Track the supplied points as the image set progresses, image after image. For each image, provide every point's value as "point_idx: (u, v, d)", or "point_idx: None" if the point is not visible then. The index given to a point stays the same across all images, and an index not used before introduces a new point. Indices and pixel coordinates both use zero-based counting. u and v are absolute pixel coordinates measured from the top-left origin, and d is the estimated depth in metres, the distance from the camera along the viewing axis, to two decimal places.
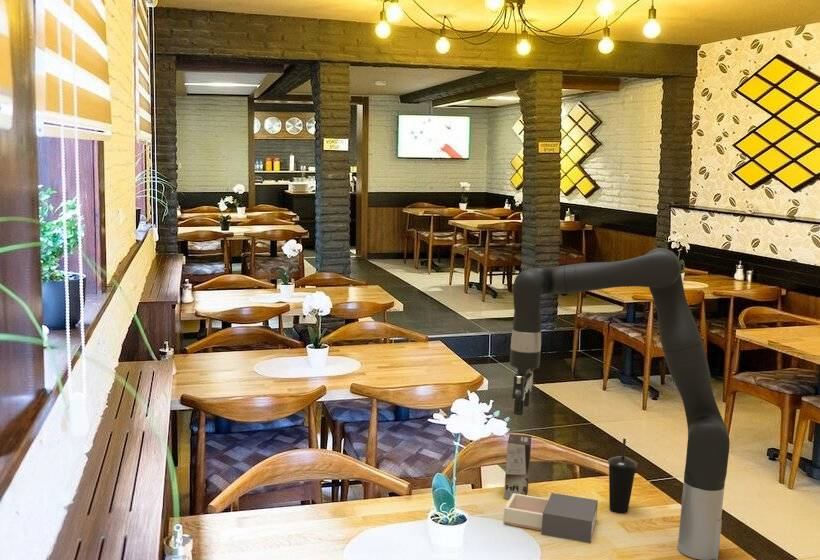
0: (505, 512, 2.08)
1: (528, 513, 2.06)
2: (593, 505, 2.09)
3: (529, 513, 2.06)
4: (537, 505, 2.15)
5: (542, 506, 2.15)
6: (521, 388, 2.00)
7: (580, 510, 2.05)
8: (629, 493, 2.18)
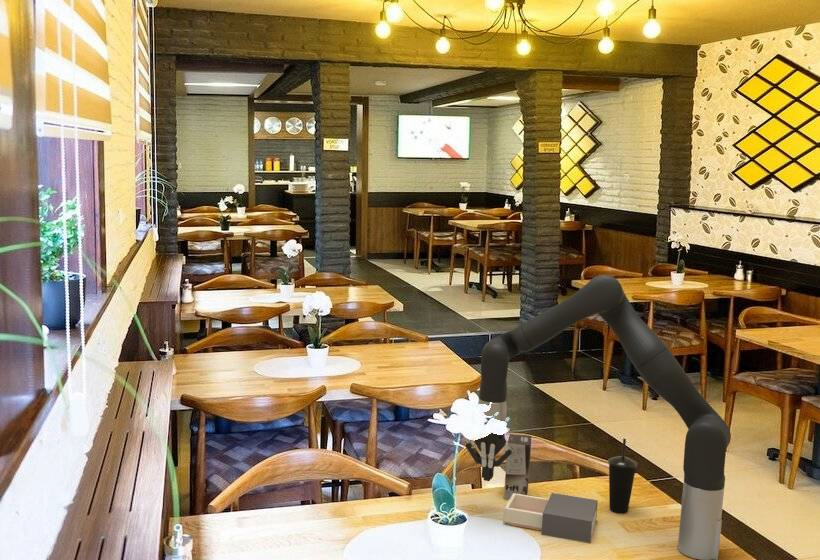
0: (505, 512, 2.08)
1: (528, 513, 2.06)
2: (593, 505, 2.09)
3: (529, 513, 2.06)
4: (537, 505, 2.15)
5: (542, 506, 2.15)
6: None
7: (580, 510, 2.05)
8: (629, 493, 2.18)
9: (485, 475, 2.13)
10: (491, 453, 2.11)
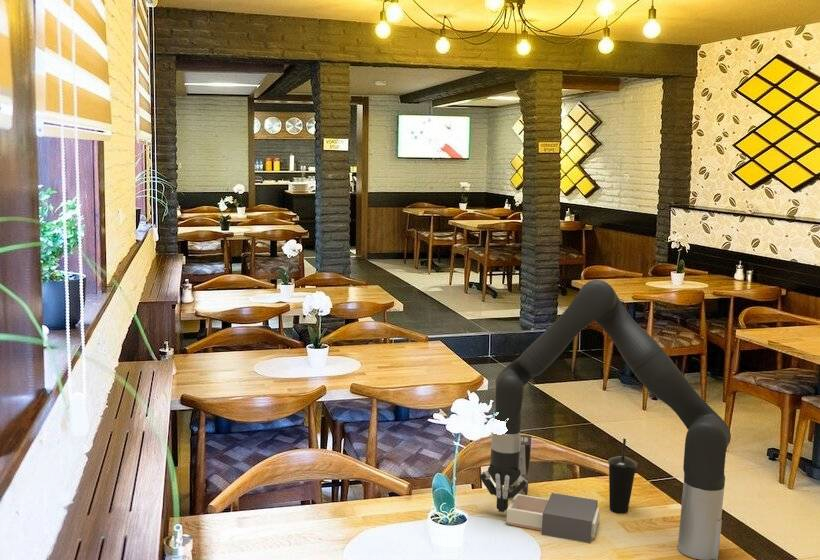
0: (508, 512, 2.07)
1: (531, 513, 2.06)
2: (593, 505, 2.09)
3: (532, 513, 2.05)
4: (540, 505, 2.15)
5: (545, 506, 2.15)
6: None
7: (580, 510, 2.05)
8: (629, 493, 2.18)
9: (500, 506, 2.13)
10: (506, 484, 2.11)
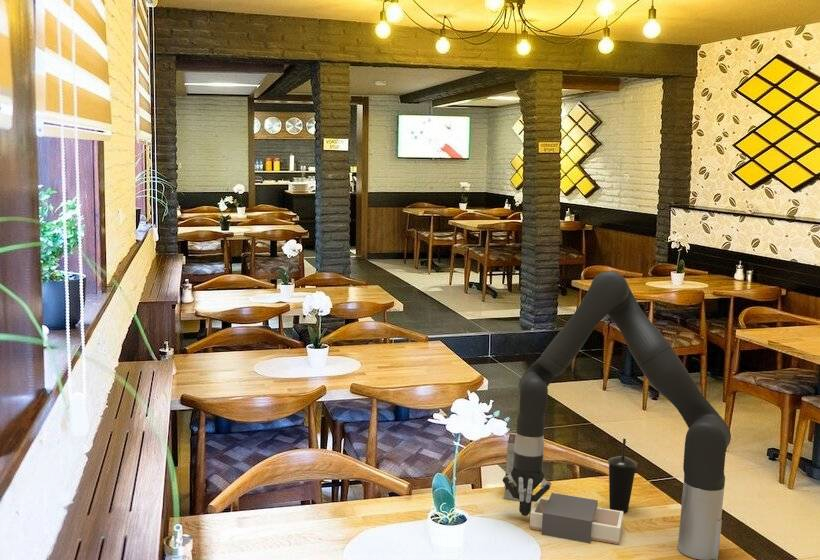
0: (531, 517, 2.06)
1: None
2: (593, 505, 2.09)
3: None
4: None
5: None
6: None
7: (580, 510, 2.05)
8: (629, 493, 2.18)
9: (523, 510, 2.11)
10: (529, 488, 2.09)
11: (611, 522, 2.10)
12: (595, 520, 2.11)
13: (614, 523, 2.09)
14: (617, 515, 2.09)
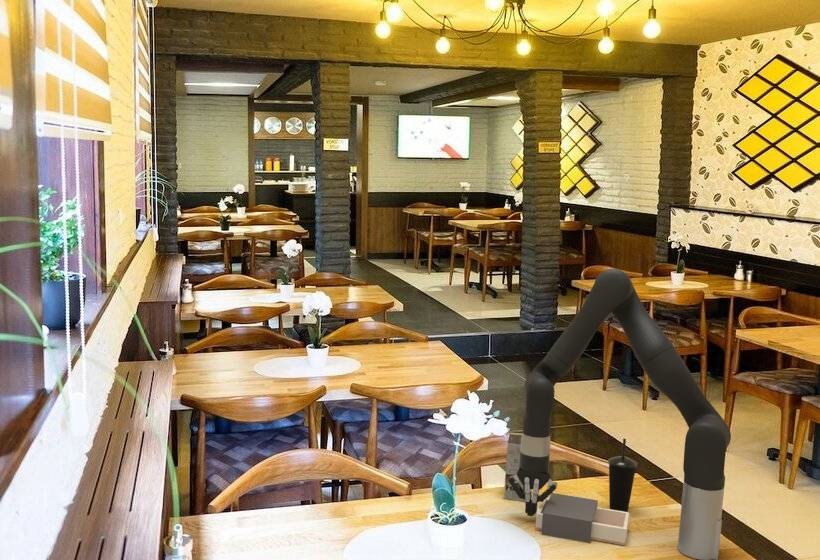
0: (537, 518, 2.05)
1: None
2: (593, 505, 2.09)
3: None
4: None
5: None
6: None
7: (580, 510, 2.05)
8: (629, 493, 2.18)
9: (529, 510, 2.10)
10: (535, 488, 2.08)
11: (617, 523, 2.09)
12: (601, 521, 2.10)
13: (620, 524, 2.09)
14: (623, 516, 2.08)
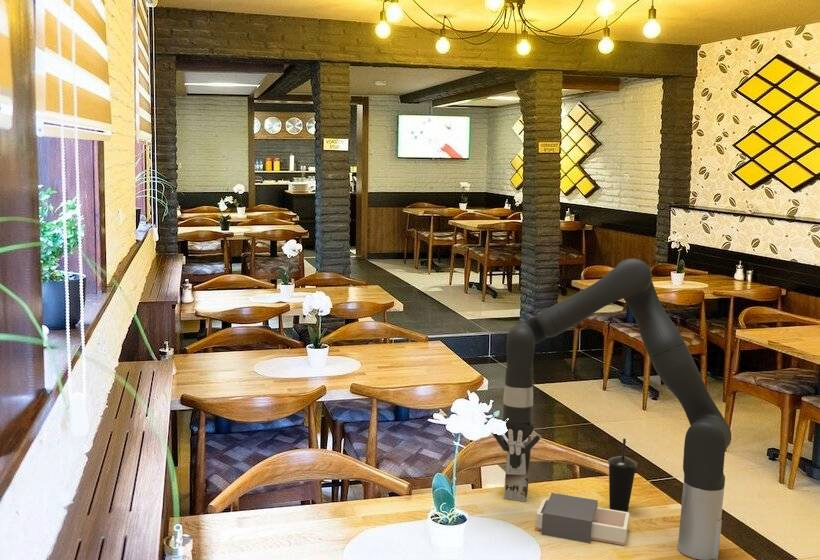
0: (537, 518, 2.05)
1: None
2: (593, 505, 2.09)
3: None
4: None
5: None
6: None
7: (580, 510, 2.05)
8: (629, 493, 2.18)
9: (513, 463, 2.10)
10: (519, 440, 2.08)
11: (617, 523, 2.09)
12: (601, 521, 2.10)
13: (620, 524, 2.09)
14: (623, 516, 2.08)
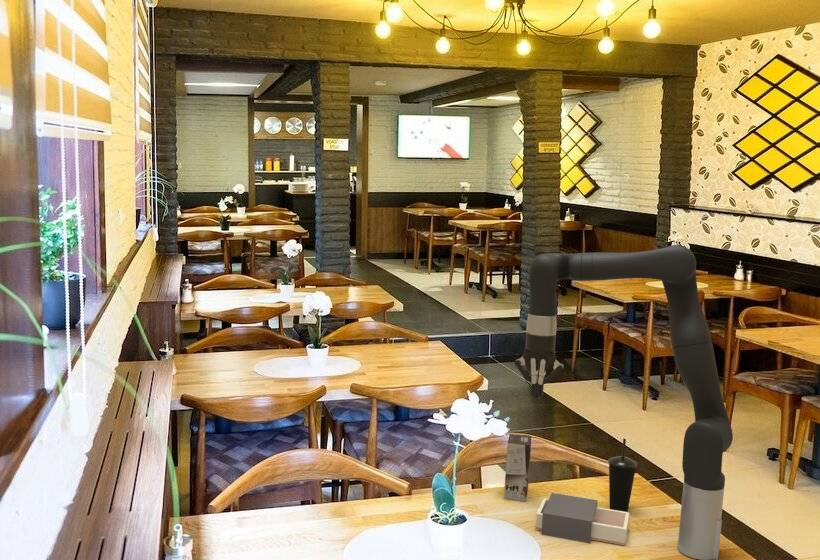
0: (537, 518, 2.05)
1: None
2: (593, 505, 2.09)
3: None
4: None
5: None
6: None
7: (580, 510, 2.05)
8: (629, 493, 2.18)
9: (535, 392, 2.09)
10: (541, 369, 2.08)
11: (617, 523, 2.09)
12: (601, 521, 2.10)
13: (620, 524, 2.09)
14: (623, 516, 2.08)
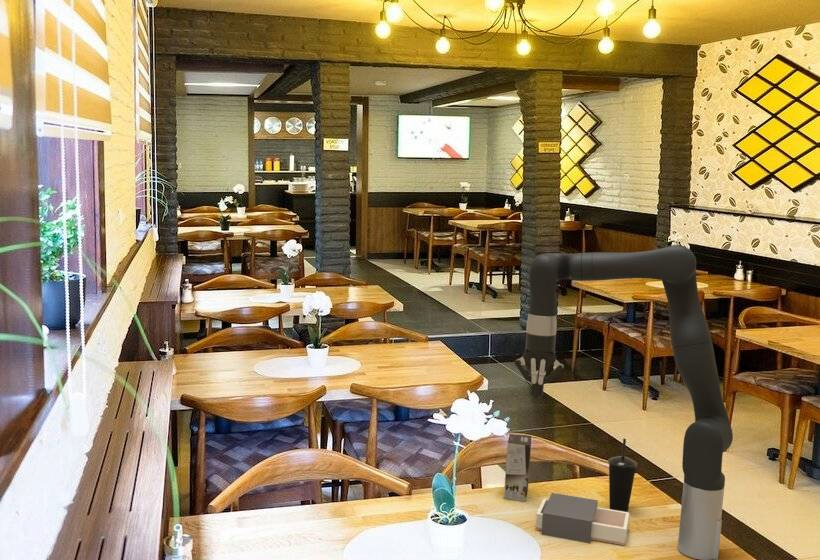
0: (537, 518, 2.05)
1: None
2: (593, 505, 2.09)
3: None
4: None
5: None
6: None
7: (580, 510, 2.05)
8: (629, 493, 2.18)
9: (535, 392, 2.09)
10: (541, 369, 2.08)
11: (617, 523, 2.09)
12: (601, 521, 2.10)
13: (620, 524, 2.09)
14: (623, 516, 2.08)
